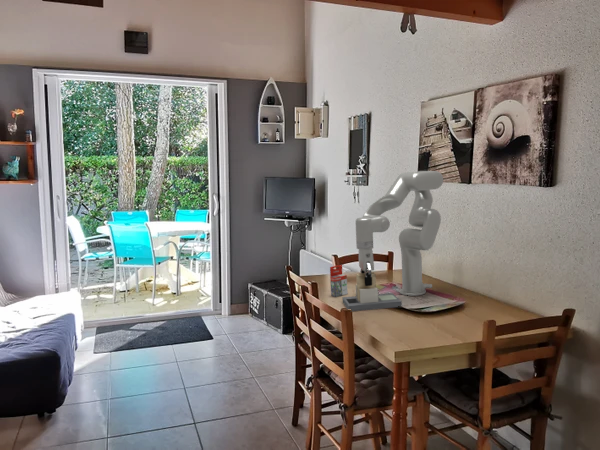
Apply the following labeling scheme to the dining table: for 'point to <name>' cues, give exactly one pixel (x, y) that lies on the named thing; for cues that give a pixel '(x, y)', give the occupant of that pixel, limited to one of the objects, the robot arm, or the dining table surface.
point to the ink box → (338, 281)
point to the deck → (383, 302)
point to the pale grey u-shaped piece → (368, 295)
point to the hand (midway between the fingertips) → (366, 283)
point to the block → (362, 283)
